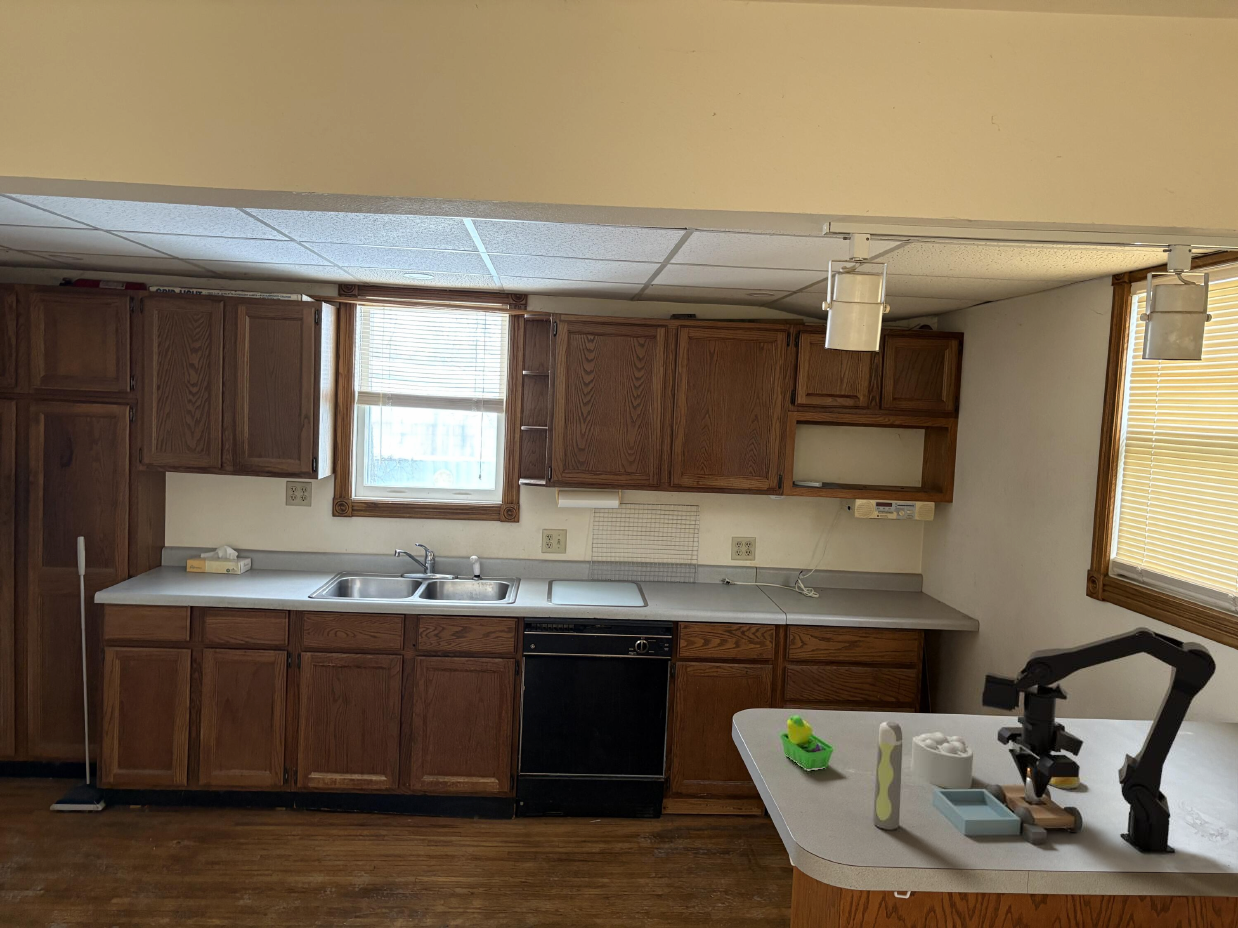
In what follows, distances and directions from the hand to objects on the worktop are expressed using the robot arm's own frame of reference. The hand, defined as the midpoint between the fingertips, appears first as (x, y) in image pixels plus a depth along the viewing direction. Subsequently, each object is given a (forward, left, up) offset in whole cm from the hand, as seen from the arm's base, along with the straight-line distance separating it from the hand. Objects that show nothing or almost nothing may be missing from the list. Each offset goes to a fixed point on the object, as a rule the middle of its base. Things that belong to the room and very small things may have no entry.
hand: (1033, 793), depth 168 cm
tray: (0, +12, -5) cm, 13 cm away
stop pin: (0, 0, -5) cm, 5 cm away
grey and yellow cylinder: (-2, +31, -5) cm, 31 cm away
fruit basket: (+27, +38, -5) cm, 47 cm away
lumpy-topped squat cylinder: (+19, +9, -5) cm, 22 cm away
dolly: (-1, 0, -5) cm, 5 cm away
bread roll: (+17, -16, -6) cm, 24 cm away
